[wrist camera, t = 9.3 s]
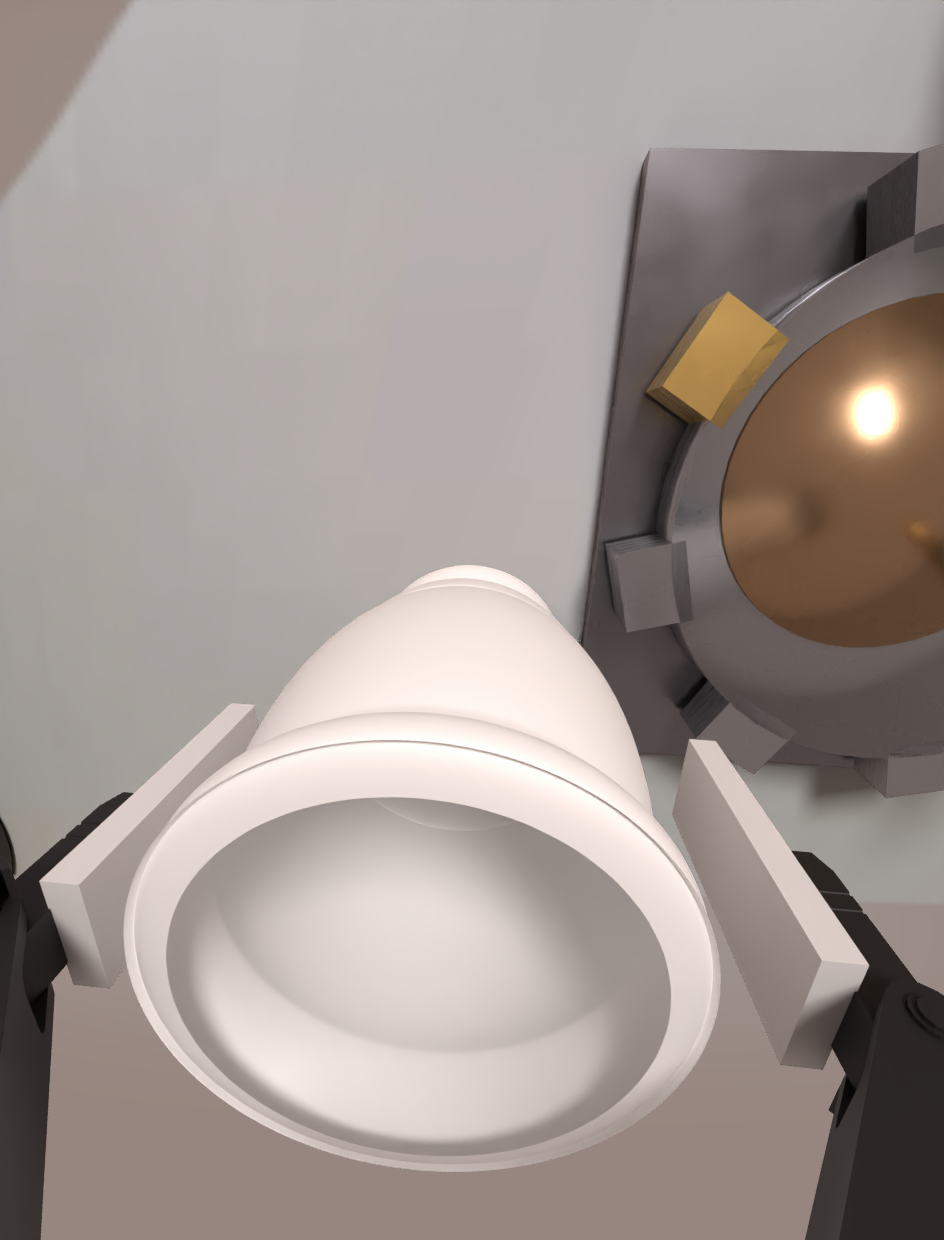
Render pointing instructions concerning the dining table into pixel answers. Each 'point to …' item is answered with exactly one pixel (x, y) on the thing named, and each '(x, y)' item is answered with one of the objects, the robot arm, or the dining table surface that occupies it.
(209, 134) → the dining table surface
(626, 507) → the base plate
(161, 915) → the jar
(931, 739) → the sprocket
